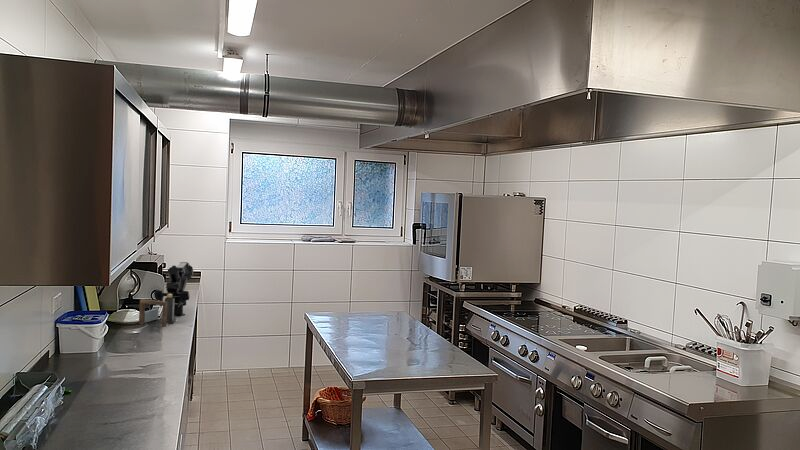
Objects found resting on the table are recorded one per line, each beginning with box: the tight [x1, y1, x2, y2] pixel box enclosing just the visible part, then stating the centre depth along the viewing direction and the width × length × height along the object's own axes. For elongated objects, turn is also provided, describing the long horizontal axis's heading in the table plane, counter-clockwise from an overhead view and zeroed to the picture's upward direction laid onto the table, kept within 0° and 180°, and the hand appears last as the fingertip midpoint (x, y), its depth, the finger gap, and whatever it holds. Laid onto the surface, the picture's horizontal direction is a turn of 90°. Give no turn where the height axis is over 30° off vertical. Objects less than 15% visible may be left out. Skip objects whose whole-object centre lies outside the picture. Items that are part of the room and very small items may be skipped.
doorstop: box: [164, 293, 176, 325], centre depth 342 cm, size 6×6×17 cm
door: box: [144, 308, 159, 324], centre depth 343 cm, size 12×1×6 cm, turn 166°
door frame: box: [138, 298, 167, 328], centre depth 334 cm, size 2×16×14 cm, turn 76°
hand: (169, 307), depth 341 cm, fingers open, 9 cm apart
